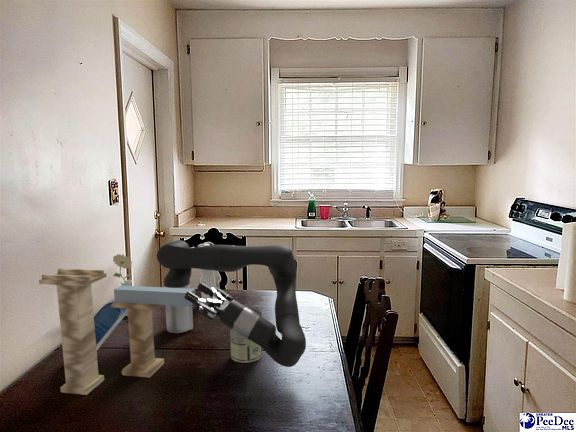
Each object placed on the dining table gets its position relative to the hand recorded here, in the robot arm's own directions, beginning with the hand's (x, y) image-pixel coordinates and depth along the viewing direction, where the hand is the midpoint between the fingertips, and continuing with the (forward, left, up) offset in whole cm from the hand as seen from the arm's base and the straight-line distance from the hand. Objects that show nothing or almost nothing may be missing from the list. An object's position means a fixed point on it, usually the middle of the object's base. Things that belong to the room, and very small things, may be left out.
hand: (192, 289), depth 125 cm
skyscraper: (-18, -60, -26) cm, 68 cm away
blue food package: (+32, -24, -23) cm, 46 cm away
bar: (+10, -7, -5) cm, 13 cm away
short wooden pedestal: (+14, -10, -26) cm, 31 cm away
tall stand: (+31, -7, -26) cm, 41 cm away
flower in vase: (+16, -63, -26) cm, 70 cm away
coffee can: (-17, -5, -26) cm, 32 cm away
